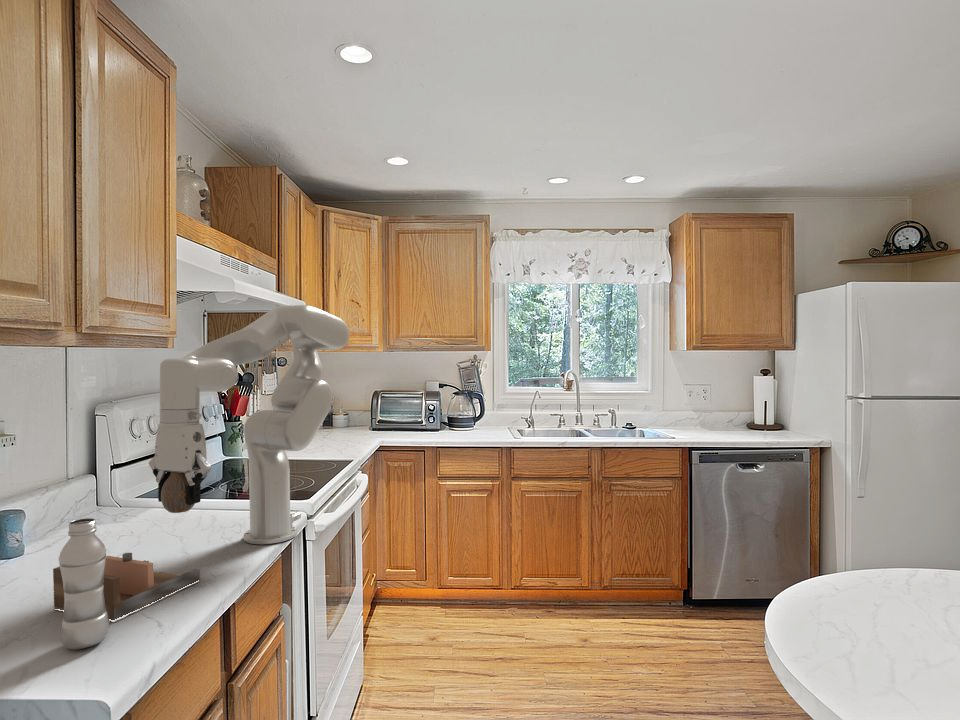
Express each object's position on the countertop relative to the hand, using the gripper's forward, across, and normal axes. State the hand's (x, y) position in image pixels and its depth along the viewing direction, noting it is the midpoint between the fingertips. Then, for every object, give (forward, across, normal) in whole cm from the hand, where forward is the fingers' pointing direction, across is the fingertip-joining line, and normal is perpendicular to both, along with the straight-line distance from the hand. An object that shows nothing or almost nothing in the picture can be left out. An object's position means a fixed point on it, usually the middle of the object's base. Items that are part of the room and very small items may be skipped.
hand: (179, 501), depth 126 cm
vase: (+2, 0, 0) cm, 2 cm away
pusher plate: (+16, 0, +11) cm, 19 cm away
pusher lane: (+16, 0, +11) cm, 19 cm away
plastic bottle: (+16, -10, +28) cm, 34 cm away
